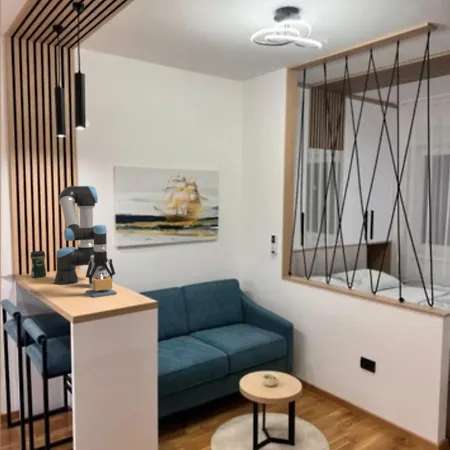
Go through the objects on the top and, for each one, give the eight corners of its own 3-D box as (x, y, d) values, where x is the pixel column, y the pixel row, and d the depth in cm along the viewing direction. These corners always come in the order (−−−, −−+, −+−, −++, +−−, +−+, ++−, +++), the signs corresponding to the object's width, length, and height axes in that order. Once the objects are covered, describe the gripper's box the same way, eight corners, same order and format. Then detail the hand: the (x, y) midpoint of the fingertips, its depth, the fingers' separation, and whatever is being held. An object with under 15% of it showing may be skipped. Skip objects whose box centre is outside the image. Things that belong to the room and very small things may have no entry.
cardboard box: (89, 287, 257) (89, 277, 257) (106, 285, 263) (105, 275, 263) (95, 290, 249) (95, 280, 249) (112, 288, 255) (111, 278, 255)
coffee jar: (43, 275, 311) (42, 249, 310) (47, 276, 305) (46, 251, 304) (29, 276, 305) (28, 251, 303) (33, 278, 299) (32, 252, 297)
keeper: (85, 293, 258) (85, 273, 257) (108, 289, 266) (107, 270, 265) (93, 297, 247) (93, 277, 246) (116, 294, 255) (116, 274, 254)
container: (102, 288, 270) (102, 257, 269) (88, 287, 272) (87, 256, 271) (110, 284, 280) (109, 254, 278) (96, 284, 282) (95, 254, 280)
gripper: (83, 253, 245) (84, 291, 247) (120, 250, 258) (121, 286, 260) (79, 251, 251) (80, 289, 253) (115, 248, 264) (116, 284, 266)
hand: (101, 287), depth 256 cm, fingers closed on cardboard box, 10 cm apart
